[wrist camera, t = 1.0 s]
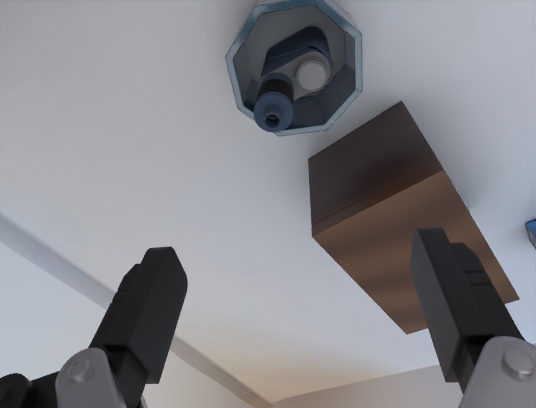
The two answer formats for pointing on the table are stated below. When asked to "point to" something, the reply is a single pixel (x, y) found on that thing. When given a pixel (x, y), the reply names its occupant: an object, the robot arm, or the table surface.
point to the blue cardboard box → (532, 232)
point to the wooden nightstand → (389, 211)
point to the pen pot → (307, 108)
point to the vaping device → (291, 77)
